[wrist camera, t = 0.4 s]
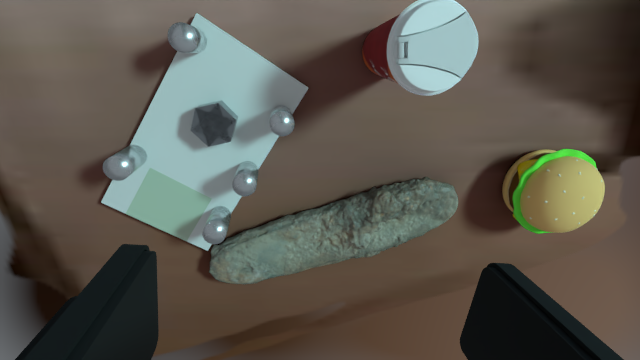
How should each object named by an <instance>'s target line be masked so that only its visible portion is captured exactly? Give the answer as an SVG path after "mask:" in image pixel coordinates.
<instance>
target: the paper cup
mask: <svg viewBox="0 0 640 360" xmlns="http://www.w3.org/2000/svg"><path fill="white" fill-rule="evenodd" d="M477 50H478V33H477V30H476V27H475V24H474V22H473V20H472V18H471V17H470V15H469V14H468V12H467V10H466V9H465V8H464V7H462V6H461V5H460V4H459V3H457V2H456V1H454V0H418V1H416V2H414V3H412V4H411V5H410V6H408V7H407V8H406V9H405V10H404V11H403V12H402V13H401V14H400V15H398V16H396V17H394V18H392V19H390V20H389V21H387V22H385V23H383V24H381V25H380V26H378V27H376V28H375V29H374V30H372V31H371V32H370V33H369V35H368V36H367V37H366V39H365V41H364V44H363V49H362V55H363V60H364V62H365V64H366V66H367V67H368V69H369V70H370V71H372V72H373V73H375V74H377V75H379V76H381V77H383V78H386V79H388V80H391V81H393V82H396V83H398V84H399V85H400V86H402V87H403V88H404V89H405V90H407V91H409V92H411V93H414V94H417V95H435V94H439V93H442V92H444V91H446V90H448V89H449V88H451V87H452V86H454V85H455V84H456V83H457V82H459V81H460V80H461V78H462V77H463V76H464V75H465V73H466V72H467V71H468V69H469V68H470V66H471V65H472V62H473V60H474V59H475V56H476V54H477Z"/></svg>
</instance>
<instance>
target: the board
mask: <svg viewBox="0 0 640 360" xmlns="http://www.w3.org/2000/svg"><path fill="white" fill-rule="evenodd" d="M191 26H194V27H196V28H199V29H200V30H202V31H203V32H204V34H205V35H206V38H207V46H206V48H205V49H204V50H203V51H202V52H200V53H182V52H179V51H177V53H176V55H175V57H174V59H173V61H172V63H171V65H170V67H169V69H168V71H167V73H166V75H165V77H164V79H163V81H162V83H161V85H160V87H159V89H158V91H157V92H156V94H155V96H154V98H153V100H152V102H151V104H150V106H149V108H148V110H147V112H146V114H145V116H144V118H143V120H142V122H141V124H140V126H139V128H138V130H137V132H136V134H135V136H134V138H133V140H132V142H131V144H130V145H138V146H140V147H142V148H143V149H144V150H145V152H146V154H147V160H146V162H145V163H144V164H143V165H142V166H141V167H139V168H138V169H137V170H136V171H135V172H133V173H132V174H131V175H130V176H128V177H127V178H126V179H124V180H121V181H116V180H112V182H111V184H110V186H109V188H108V190H107V192H106V194H105V196H104V198H103V199H102V201H101V203H103V204H105V205H108V206H110V207H112V208H114V209H116V210H119V211H121V212H123V213H125V214H127V215H129V216H132V217H134V218H136V219H138V220H140V221H143V222H145V223H147V224H149V225H151V226H154V227H156V228H158V229H160V230H162V231H165V232H167V233H169V234H171V235H173V236H176V237H178V238H180V239H182V240H184V241H187V242H189V243H191V244H193V245H196V246H198V247H200V248H202V249H204V250H207V251H208V250H209V248H210V247H211V245H212V244H210V243H208V242H206V241H205V240H204V238H203V236H202V232H203V229H204V227H205V225H206V222H207V220H208V217H209V215H210V213H211V210H212V209H213V208H215V207H217V206H224V207H226V208H227V209H229V211H230V213H232V211H233V209H234V208H235V206H236V205H237V203H238V201H239V200H240V198H241V197H242V196H240V195H238V194H237V193H235V191H234V190H233V187H232V182H233V179H234V177H235V174H236V171H237V168H238V166H239V164H240V163H242V162H244V161H251V162H253V163H255V164H256V166H257V167H258V169H259V167H260V166H261V164H262V163H263V161H264V159H265V158H266V156H267V155H268V153H269V151H270V150H271V148H272V146H273V145H274V143H275V142H276V140H277V138H278V137H279V136H278V135H276V134H274V133H273V132H272V130H271V128H270V114H271V111H272V109H273V108H274V107H276V106H278V105H284V106H286V107H288V108H289V109H290V110H291V112H292V114H293V113H294V111H295V109H296V108H297V106H298V105H299V103H300V101H301V100H302V98H303V96H304V95H305V93H306V92H307V90H308V87H307V86H305V85H304V84H302V83H301V82H299V81H298V80H296V79H295V78H293V77H292V76H290V75H289V74H287V73H286V72H284V71H283V70H281V69H280V68H278V67H277V66H275V65H274V64H272V63H271V62H269V61H268V60H266V59H265V58H263V57H262V56H260V55H259V54H257V53H256V52H254V51H253V50H251V49H250V48H248V47H247V46H245V45H244V44H242V43H241V42H239V41H238V40H236V39H235V38H233V37H232V36H231V35H229V34H228V33H226V32H225V31H223V30H222V29H220V28H219V27H217V26H216V25H214V24H213V23H211V22H210V21H208V20H207V19H205V18H204V17H202V16H201V15H199V14H197V13H196V15H195V17H194V19H193V21H192V23H191ZM221 100H222V101H223V102H224V103H225V104H226V105H227V106H228V107H229V108H230V109H231V110H232V111H233V112H234V113H235V114H236V115H237V116H238V120H237V124H236V128H235V132H234V136H233V138H232V140H231V142H228V143H223V144H219V145H214V146H210V147H208V146H207V145H206V144H205V143H204V142H202V141H201V140H200V139H199V138H198V137H197V136H196V135H195V134H194V133H193V132H192V131H190V130H191V126H192V121H193V116H194V112H195V108H196V107H198V106H199V105H203V104H207V103H212V102H216V101H221Z"/></svg>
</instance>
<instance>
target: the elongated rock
mask: <svg viewBox="0 0 640 360" xmlns="http://www.w3.org/2000/svg"><path fill="white" fill-rule="evenodd" d="M457 207H458V196H457V194H456V192H455V189H454V187H453V186H452V185H450V184H448V183H441V182H438V181H435V180H430V179H429V178H428V177H424V178H422V179H411V180H408V181H405V182H402V183H394V184H392V185H388V186H386V185H383V186H382V187H381V188H378V189H377V188H376V187H372V189H371V190H370V191H368V192H366V193H362V192H361V193H360V194H357V195H355V196H352V197H350V198H347V199H343V200H339V201H336V202H334V203H330V204H328V205H327V206H323V207H321V208H317V209H311V210H306V211H302V212H299V213H297V214H296V215H286V216H284V217H282V218H281V219H277V220H275V221H271V222H269V223H267V224H265V225H262V226H259V227H256V228H253V229H250V230H246V231H243V232H242V233H239V234H237V235H235V236H234V237H231V238H227V239H226V241H224V242H223V243H222V244H220V245H214V246H213V248H212V249H211V261H210V270H209V273H211V274H212V276H213V277H214V278H215V279H216V280H218V281H221V282H225V283H233V284H252V283H258V282H259V281H262V280H266V279H269V278H274V277H277V276H284V275H289V274H293V273H298V272H300V271H304V270H307V269H310V268H314V267H319V266H323V265H328V264H334V263H338V262H340V261H344V260H347V259H350V258H360V257H371V256H373V255H377V254H379V253H380V251H385V249H386V250H387V249H388V248H391V247H397V246H398V245H399V244H402V243H406V242H407V241H408V240H410V239H413V238H415V237H419V236H422V235H424V234H425V233H426V232H428V231H429V230H431V229H434V228H436V227H438V226H439V225H441V224H442V223H444V222H445V221H447V220H448V219H450V217H451V216H452V215H453V214H454V213H455V211H456V209H457Z"/></svg>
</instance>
